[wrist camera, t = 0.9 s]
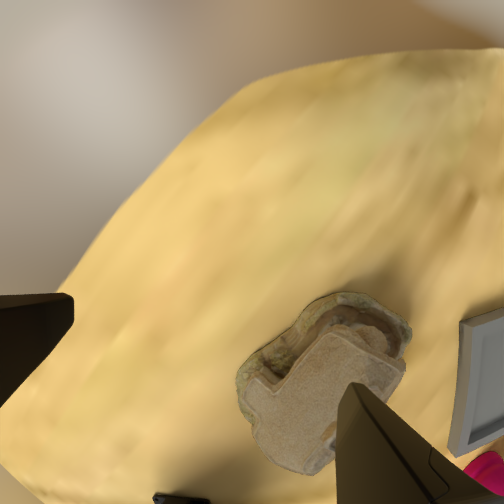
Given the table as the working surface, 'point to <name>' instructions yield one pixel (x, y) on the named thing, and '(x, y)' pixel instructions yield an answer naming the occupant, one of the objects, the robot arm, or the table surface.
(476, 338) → the grey tray
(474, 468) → the pepper mill
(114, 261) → the table surface
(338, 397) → the ceramic model
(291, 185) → the table surface
